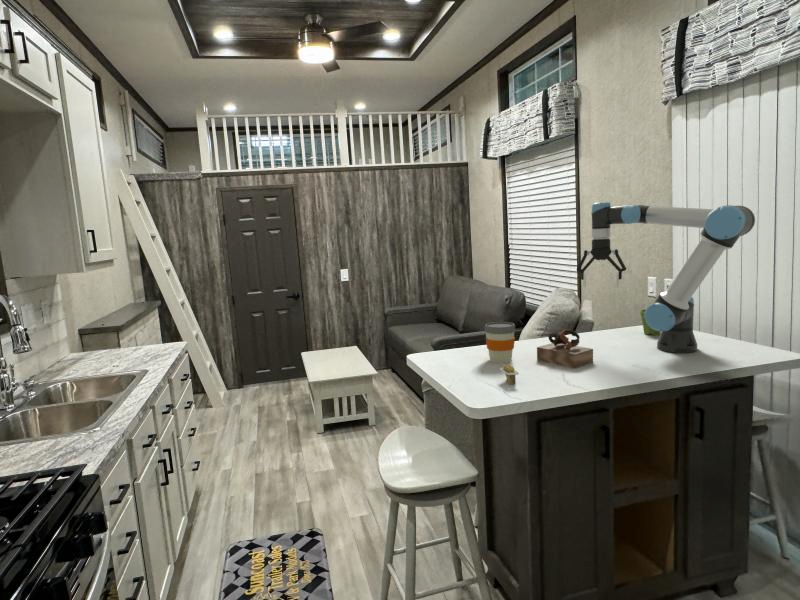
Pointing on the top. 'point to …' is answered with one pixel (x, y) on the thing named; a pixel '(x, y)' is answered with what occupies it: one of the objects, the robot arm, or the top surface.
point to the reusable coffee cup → (500, 340)
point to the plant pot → (645, 326)
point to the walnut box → (565, 355)
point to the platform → (510, 373)
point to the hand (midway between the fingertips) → (601, 287)
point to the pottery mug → (564, 338)
